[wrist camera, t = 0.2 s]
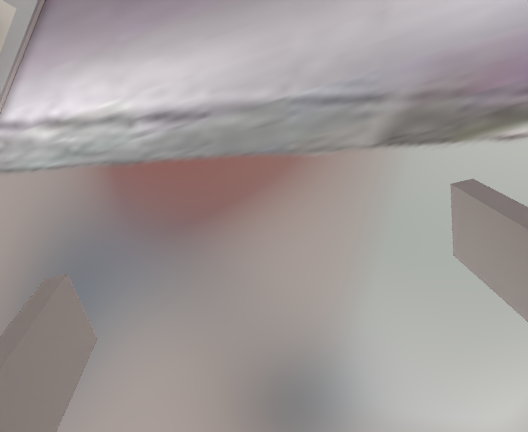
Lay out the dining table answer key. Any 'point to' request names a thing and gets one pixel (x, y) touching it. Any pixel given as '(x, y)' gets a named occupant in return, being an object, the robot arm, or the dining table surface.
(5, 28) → the tray
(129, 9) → the dining table surface
